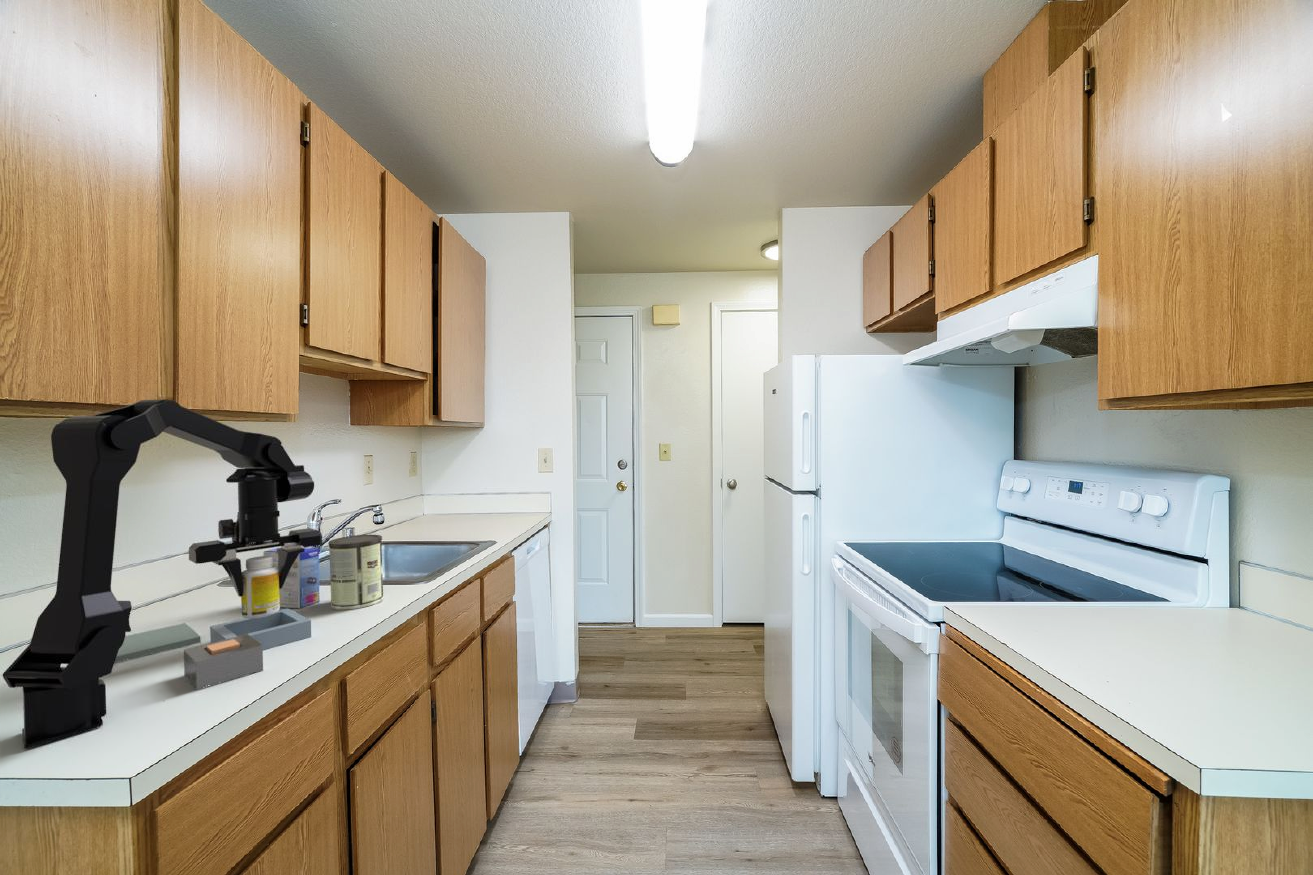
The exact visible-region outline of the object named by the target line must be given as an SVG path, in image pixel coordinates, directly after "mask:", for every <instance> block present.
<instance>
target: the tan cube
mask: <svg viewBox="0 0 1313 875" xmlns="http://www.w3.org/2000/svg"><path fill="white" fill-rule="evenodd" d="M206 647H207V652H208V653H209V654H210V655H211V654H215V653H218V652H222V651H226V650H230V649H234V648H238V647H240V644H239V643H238V642H237V641H236V640H234V639H232V640H228V641H224V642H220V643H216V644H212V645H208V646H206Z"/></svg>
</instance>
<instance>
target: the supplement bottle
mask: <svg viewBox="0 0 1313 875" xmlns="http://www.w3.org/2000/svg"><path fill="white" fill-rule="evenodd" d="M273 563H274V562H273V557H272V556H263V555H262V556H261V555H260V556H254V557H249V558H247V559H245V570H243V571H242V581H243V596H241V597H240V598H241V599H240V601H241V603H240V605H241V616H242V618H247V619H255V618H262V617H266V616H270V615H273V614H275V613H277V612H278V611H279V610H281V607H280V598H279V569H278V567H276V566H272V565H273Z"/></svg>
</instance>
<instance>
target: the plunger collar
mask: <svg viewBox="0 0 1313 875" xmlns="http://www.w3.org/2000/svg"><path fill="white" fill-rule="evenodd" d="M232 639H234V640H236V641H237V642H238V643H239V644H240V647H238V648H234V649H230V650H226V651H222V652H218V653H215V654H211V655H210V654H209V653H208V652H207V647H206V646H208V645H212V644H216V643H220V642H224V641H228V640H232ZM263 651H264V650H263V645H262V644H261V643H259V642H258V641H256V640H255V639H254V638H252V637H251V636H249V635H248V634H245V635H241V636H237V637H233V638H229V639H225V640H221V641H217V642H212V643H211V642H209V643H205V644H204V643H203V644H201V645H197V646H193V647H189V648H185V649H183V676H184V677H185V678H186V680H187V681H188V682H189V681H190V682H191V683H190V682H189V683H190V684H191V685H192V686H193V685H194V686H193V688H194V689H195V688H196V689H199V690H202V689H201V688H203V687H206V686H208V685H213V686H215V685H214V684H216V685H218V684H217V683H219V682H223V681H226V682H229V681H232V680H231V679H233V680H236V679H239V678H238V677H240V676H243V677H245V676H244V675H246V676H248V675H247V674H250V673H253V672H256V673H259V672H258V671H260V672H262V670H263V671H264V655H263V654H264V653H263ZM253 674H254V673H253ZM250 675H251V674H250ZM235 678H236V679H235ZM240 678H241V677H240ZM228 680H229V681H228ZM223 683H224V682H223ZM219 684H220V683H219ZM206 688H207V687H206ZM196 689H195V690H196ZM203 689H204V688H203Z"/></svg>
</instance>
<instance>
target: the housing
mask: <svg viewBox="0 0 1313 875" xmlns="http://www.w3.org/2000/svg"><path fill="white" fill-rule="evenodd" d="M209 633H210V634H209V637H210V640H209V641H210V643H212V642H217V641H221V640H225V639H229V638H233V637H237V636H241V635H245V634H248V635H249V636H251V637H252V638H254V639H255V640H256V641H258V642H259V643H261V644H262V645H263V651H264V650H267V649H268V650H269V649H271V648H274V647H275V646H276V647H280V646H282V645H286V644H290V643H294V642H298V641H300V640H305V639H309V638H312V620H311V619H309V618H307V617H305V616H304V615H301V614H300V613H297V612H296V611H294V610H292V609H290V608H287V607H286V608H283V609H279V611H278V612H277V613H275V614H273V615H270V616H266V617H262V618H255V619H247V618H244V617H242V618H239V619H234V620H231V621H225V622H222V623H218V624H214V625H210V626H209Z"/></svg>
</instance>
